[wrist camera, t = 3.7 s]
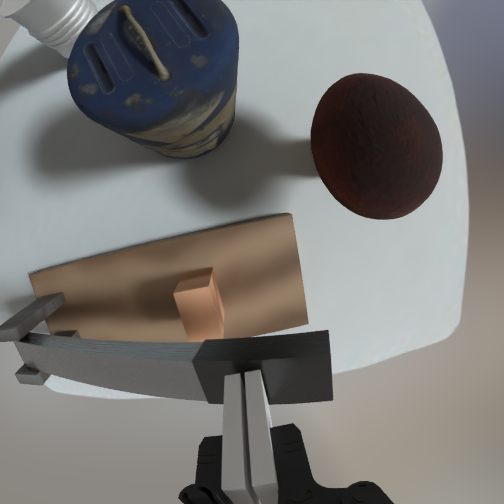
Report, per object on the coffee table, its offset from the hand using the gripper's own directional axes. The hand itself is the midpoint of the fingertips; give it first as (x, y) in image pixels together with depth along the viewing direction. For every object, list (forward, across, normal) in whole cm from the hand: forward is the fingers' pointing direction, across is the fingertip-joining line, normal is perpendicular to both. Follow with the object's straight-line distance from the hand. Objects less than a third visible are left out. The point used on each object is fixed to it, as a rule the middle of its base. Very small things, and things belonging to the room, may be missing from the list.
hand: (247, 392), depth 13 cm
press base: (+18, -10, 0) cm, 20 cm away
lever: (+5, -9, 0) cm, 11 cm away
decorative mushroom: (+18, +12, +11) cm, 25 cm away
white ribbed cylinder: (+18, -13, +33) cm, 40 cm away
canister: (+18, -2, +18) cm, 26 cm away
